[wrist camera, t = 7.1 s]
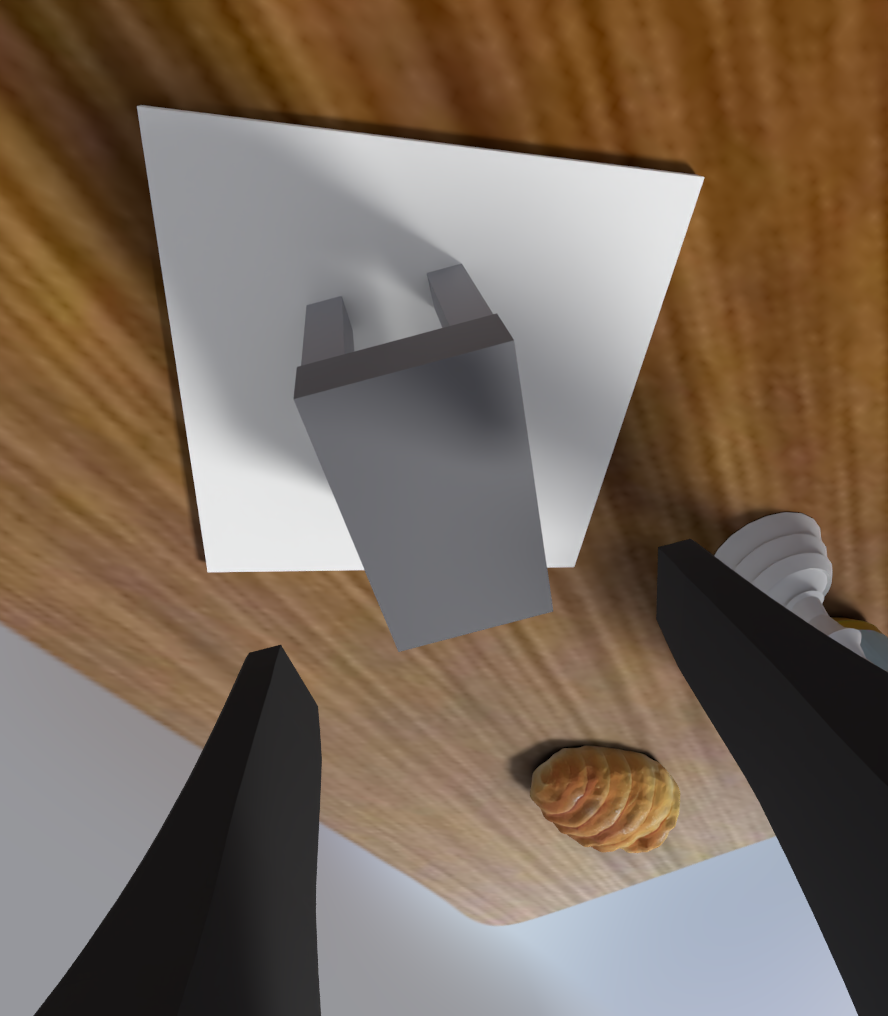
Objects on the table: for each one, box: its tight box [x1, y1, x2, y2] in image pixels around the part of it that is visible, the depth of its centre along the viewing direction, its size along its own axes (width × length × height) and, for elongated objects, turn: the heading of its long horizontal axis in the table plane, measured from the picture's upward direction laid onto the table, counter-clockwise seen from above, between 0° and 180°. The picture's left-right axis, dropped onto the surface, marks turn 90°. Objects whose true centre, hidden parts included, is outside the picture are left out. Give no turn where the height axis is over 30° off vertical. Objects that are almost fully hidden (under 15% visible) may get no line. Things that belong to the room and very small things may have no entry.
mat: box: [137, 105, 704, 572], centre depth 19 cm, size 14×14×1 cm
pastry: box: [530, 745, 680, 853], centre depth 35 cm, size 9×7×4 cm
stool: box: [294, 264, 553, 652], centre depth 16 cm, size 8×4×6 cm, turn 12°
